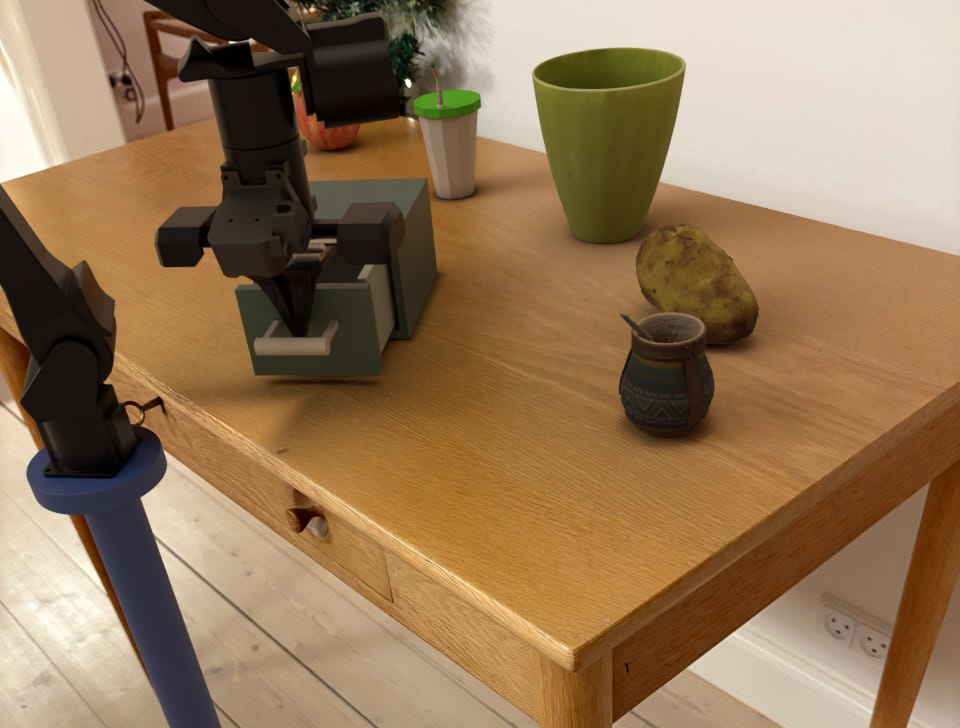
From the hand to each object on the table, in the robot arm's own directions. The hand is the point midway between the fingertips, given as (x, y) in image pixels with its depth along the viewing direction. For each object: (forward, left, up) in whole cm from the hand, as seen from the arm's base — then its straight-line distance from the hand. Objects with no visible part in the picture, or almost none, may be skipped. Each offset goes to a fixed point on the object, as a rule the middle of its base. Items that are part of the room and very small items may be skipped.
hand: (301, 337), depth 87 cm
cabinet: (0, +18, -5) cm, 19 cm away
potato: (+32, +13, -6) cm, 35 cm away
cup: (+4, +49, -6) cm, 49 cm away
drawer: (0, +6, -4) cm, 8 cm away
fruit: (-16, +68, -6) cm, 70 cm away
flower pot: (+23, +36, -6) cm, 43 cm away
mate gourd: (+30, -4, -6) cm, 31 cm away
